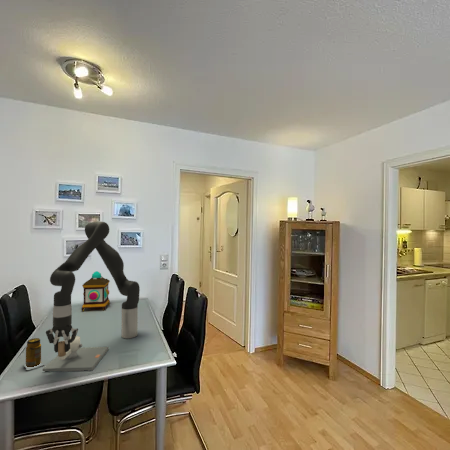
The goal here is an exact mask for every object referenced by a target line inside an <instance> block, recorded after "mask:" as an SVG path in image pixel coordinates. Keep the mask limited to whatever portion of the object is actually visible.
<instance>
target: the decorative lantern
mask: <svg viewBox="0 0 450 450" xmlns="http://www.w3.org/2000/svg"><path fill="white" fill-rule="evenodd" d="M110 282H111V281H110V280H109V279H108V278H104V277H103V276H102V273H101V272H100V271H94V272H93V273H92V274H91V278H89V279H88V280H86V281H85V282H84V283H82V288H83V293H82V294H83V303H82V306H81V312H84V311H85V309H94V308H95V309H97V308H98V309H100V308H102V310H103V311H104V310H105V311H106V308H107V306H110V305H111V301H110V299H109V295H110V290H109V285H110ZM109 304H110V305H109Z"/></svg>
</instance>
